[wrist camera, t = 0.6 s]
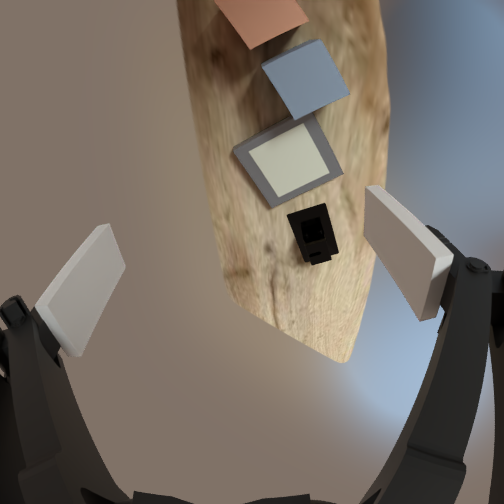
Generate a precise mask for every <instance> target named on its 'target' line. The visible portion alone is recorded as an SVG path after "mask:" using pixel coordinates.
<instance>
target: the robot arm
mask: <svg viewBox="0 0 504 504" xmlns="http://www.w3.org/2000/svg"><path fill="white" fill-rule="evenodd" d="M364 237H365V238H366V239H367V241H368V242H369V244H370V245H371V247H372V248H373V249H374V251H375V252H376V254H377V255H378V257H379V258H380V260H381V261H382V263H383V264H384V266H385V267H386V269H387V270H388V272H389V273H390V275H391V276H392V278H393V279H394V281H395V282H396V284H397V285H398V287H399V289H400V290H401V292H402V293H403V295H404V297H405V298H406V300H407V302H408V303H409V305H410V306H411V308H412V310H413V311H414V313H415V315H416V316H417V318H418V320H419V321H424V320H428V319H431V318H435V317H436V315H437V313H438V309H439V306H440V305H441V307H442V308H443V310H444V311H445V313H444V316H443V319H442V322H441V325H440V327H439V330H438V332H437V333H438V337H437V340H436V344H435V347H434V350H433V354H432V357H431V360H430V363H429V366H428V369H427V371H426V374H425V377H424V380H423V383H422V385H421V388H420V390H419V393H418V395H417V398H416V400H415V403H414V405H413V408H412V410H411V412H410V415H409V417H408V419H407V421H406V424H405V426H404V428H403V430H402V432H401V434H400V436H399V438H398V440H397V442H396V444H395V446H394V448H393V450H392V452H391V454H390V456H389V458H388V460H387V461H386V463H385V465H384V467H383V469H382V470H381V472H380V474H379V475H378V477H377V478H376V480H375V481H374V483H373V484H372V486H371V487H370V488H369V490H368V492H367V493H366V494H365V496H364V497H363V499H362V500H361V502H360V503H359V504H454V503H455V500H456V498H457V496H458V493H459V491H460V489H461V486H462V484H463V481H464V478H465V474H466V465H465V464H464V463H463V456H464V453H465V450H466V447H467V444H468V440H469V437H470V433H471V430H472V426H473V423H474V419H475V415H476V412H477V407H478V403H479V398H480V394H481V389H482V384H483V378H484V372H485V367H486V359H487V352H488V344H489V347H490V354H491V363H492V373H493V384H494V402H495V442H494V459H493V471H492V479H491V487H490V495H489V503H488V504H504V271H491V268H490V267H489V266H488V264H486V263H485V262H484V261H482V260H480V259H477V258H473V257H468V258H466V257H465V256H464V255H463V254H462V253H461V252H460V251H459V250H458V249H457V248H456V247H455V246H454V245H453V244H452V243H450V242H449V240H448V239H447V238H445V236H443V234H441V233H440V232H439V231H438V230H437V229H435V228H433V227H431V226H429V225H426V226H424V225H423V224H422V223H421V222H420V221H419V220H418V219H417V218H416V217H415V216H414V215H412V214H411V213H410V212H409V211H408V210H407V209H406V208H405V207H404V206H403V205H401V204H400V203H399V202H398V201H397V200H396V199H394V198H393V197H392V196H391V195H390V194H389V193H387V192H386V191H385V190H384V189H383V188H382V187H380V186H379V185H376V186H365V217H364ZM125 268H126V266H125V263H124V261H123V258H122V256H121V253H120V251H119V248H118V246H117V243H116V240H115V237H114V235H113V232H112V229H111V226H110V224H104V225H99V226H97V227H96V229H95V230H94V231H93V232H92V233H91V234H90V236H89V237H88V238H87V239H86V240H85V241H84V242H83V244H82V245H81V246H80V247H79V249H78V250H77V251H76V252H75V253H74V254H73V256H72V257H71V258H70V259H69V261H68V262H67V263H66V264H65V266H64V267H63V268H62V270H61V271H60V272H59V273H58V275H57V276H56V277H55V278H54V280H53V281H52V282H51V284H50V285H49V287H48V288H47V289H46V291H45V292H44V293H43V295H42V296H41V297H40V299H39V300H38V302H37V303H36V304H35V306H34V308H33V309H32V310H31V312H30V311H29V309H28V308H27V306H26V304H25V303H24V301H23V299H22V298H21V296H19V295H16V296H13V297H11V298H9V299H8V300H6V301H5V302H4V303H3V304H2V305H1V307H0V317H1V318H2V320H3V321H4V323H5V324H6V326H7V327H8V329H6V330H3V331H2V329H1V328H0V368H1V369H2V371H3V372H4V377H3V376H1V375H0V504H193V503H190V502H187V501H184V500H181V499H178V498H175V497H172V496H163V495H156V494H149V493H142V492H137V491H134V494H133V499H129V497H128V496H127V495H126V494H125V493H124V492H123V491H122V490H121V489H119V487H118V486H117V485H116V484H115V482H114V480H113V479H112V477H111V475H110V473H109V471H108V470H107V468H106V466H105V464H104V462H103V460H102V458H101V456H100V454H99V452H98V450H97V448H96V446H95V444H94V442H93V440H92V437H91V435H90V433H89V431H88V429H87V426H86V424H85V422H84V419H83V417H82V414H81V412H80V410H79V407H78V404H77V402H76V399H75V396H74V394H73V391H72V388H71V385H70V382H69V380H68V376H67V373H66V370H65V367H64V364H63V361H62V358H61V357H60V355H59V354H58V351H59V349H60V347H62V349H63V350H64V352H65V353H66V354H67V356H73V357H81V356H82V353H83V351H84V349H85V347H86V345H87V342H88V340H89V338H90V336H91V334H92V332H93V330H94V328H95V325H96V323H97V321H98V319H99V317H100V315H101V313H102V311H103V309H104V307H105V305H106V303H107V301H108V299H109V298H110V295H111V294H112V292H113V290H114V288H115V286H116V284H117V282H118V281H119V279H120V277H121V275H122V273H123V271H124V270H125ZM245 504H335V503H331V502H326V501H320V500H310V495H309V494H305V495H297V496H288V497H278V498H265V499H260V500H256V501H253V502H249V503H245Z"/></svg>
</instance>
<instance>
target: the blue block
mask: <svg viewBox="0 0 504 504" xmlns="http://www.w3.org/2000/svg"><path fill="white" fill-rule="evenodd" d="M261 64H262V68H263V70H264V71H265V73H266V74H267V76H268V77H269V79H270V80H271V82H272V84H273V85H274V87H275V88H276V90H277V91H278V93H279V95H280V96H281V98H282V100H283V101H284V103H285V104H286V106H287V108H288V109H289V111H290V113H291V114H292V116H293V118H294V120H296V119H298V118H300V117H302V116H304V115H306V114H309V113H311V112H313V111H315V110H317V109H319V108H321V107H323V106H325V105H327V104H330V103H332V102H334V101H336V100H338V99H341V98H343V97H345V96H347V95H350V92H349V90H348V88H347V86H346V84H345V82H344V80H343V78H342V77H341V75H340V73H339V71H338V69H337V67H336V65H335V63H334V62H333V60H332V58H331V56H330V54H329V53H328V51H327V49H326V47H325V46H324V44H323V42H322V41H321V39H315V40H308V41H306V42H304V43H302V44H300V45H297V46H295V47H293V48H291V49H289V50H287V51H285V52H283V53H281V54H279V55H277V56H275V57H273V58H271V59H269V60H267V61H265V62H263V63H261Z"/></svg>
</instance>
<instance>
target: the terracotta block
mask: <svg viewBox="0 0 504 504" xmlns="http://www.w3.org/2000/svg"><path fill="white" fill-rule="evenodd" d="M213 1H214V2H215V3H216V4H217V6H218V7H219V8H220V9H221V11H222V12H223V13H224V15H225V16H226V17H227V19H228V20H229V21H230V23H231V24H232V25H233V27H234V28H235V29H236V31H237V32H238V33H239V35H240V36H241V38H242V39H243V40H244V42H245V43H246V45H247V46H248V47H249V49H250V50H251V49H253V48H255V47H256V46H258V45H260V44H262V43H264V42H266V41H268V40H270V39H272V38H274V37H276V36H278V35H280V34H282V33H284V32H286V31H288V30H291V29H293V28H295V27H297V26H299V25H302V24H304V23H306V22H308V21H309V20H308V18H307V16H306V15H305V13H304V12H303V10H302V9H301V7H300V6H299V4H298V3H297V2H296V0H213Z"/></svg>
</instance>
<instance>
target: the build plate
mask: <svg viewBox="0 0 504 504" xmlns="http://www.w3.org/2000/svg"><path fill="white" fill-rule="evenodd" d="M287 218H288V220H289V223H290V225H291V228H292V230H293V233H294V235H295V238H296V241H297V243H298V246H299V248H300V251H301V254H302V256H303V259H304V261H305V262H309V261H310V262H311V265H315V264H319V263H322V262H326V261H329V260H332V259H331V255H334V254H338V253H339V251H338V247H337V243H336V240H335V236H334V232H333V228H332V225H331V221H330V217H329V214H328V210H327V207H326V204H325V203H323V204H319V205H316V206H313V207H310V208H307V209H303V210H300V211H297V212H294V213H291V214H288V215H287Z"/></svg>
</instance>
